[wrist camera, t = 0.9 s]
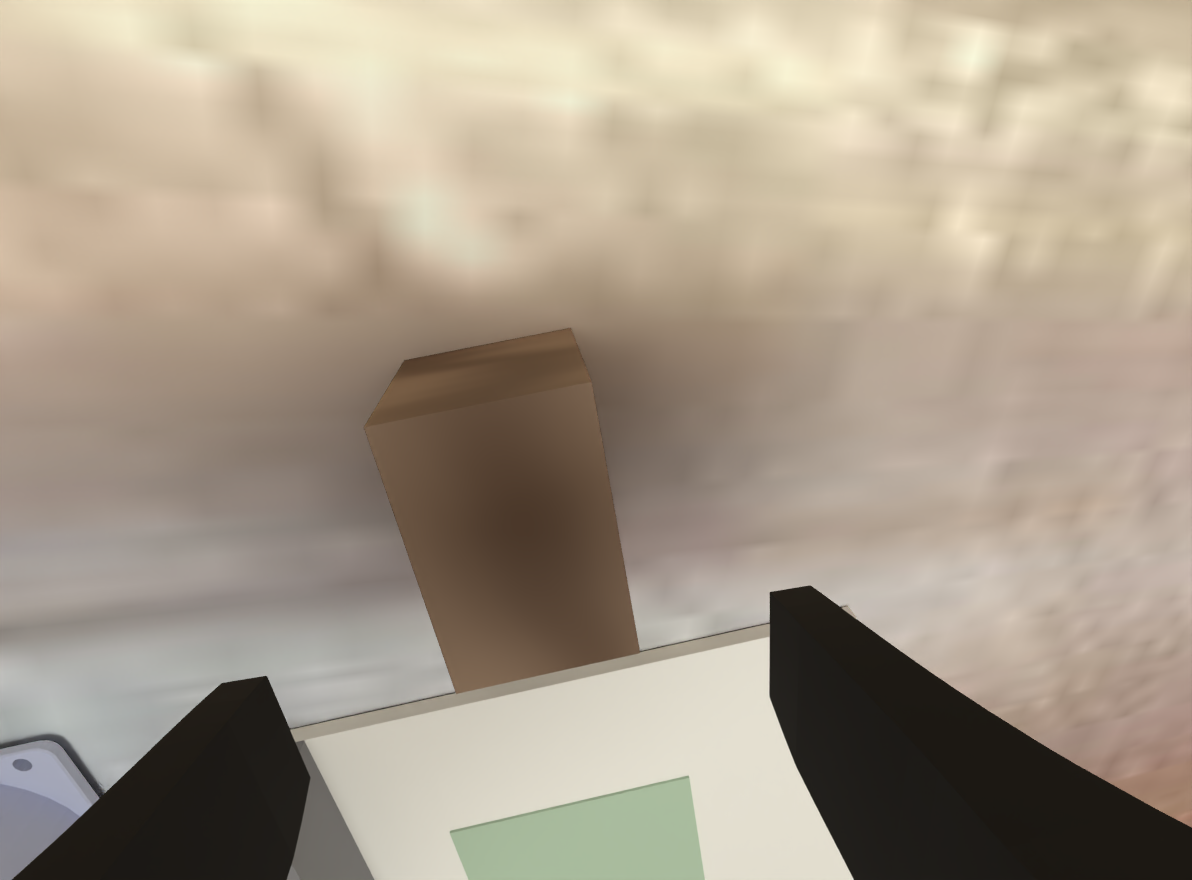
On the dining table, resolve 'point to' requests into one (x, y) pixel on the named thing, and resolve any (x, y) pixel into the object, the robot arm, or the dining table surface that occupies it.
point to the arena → (571, 779)
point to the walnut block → (506, 508)
